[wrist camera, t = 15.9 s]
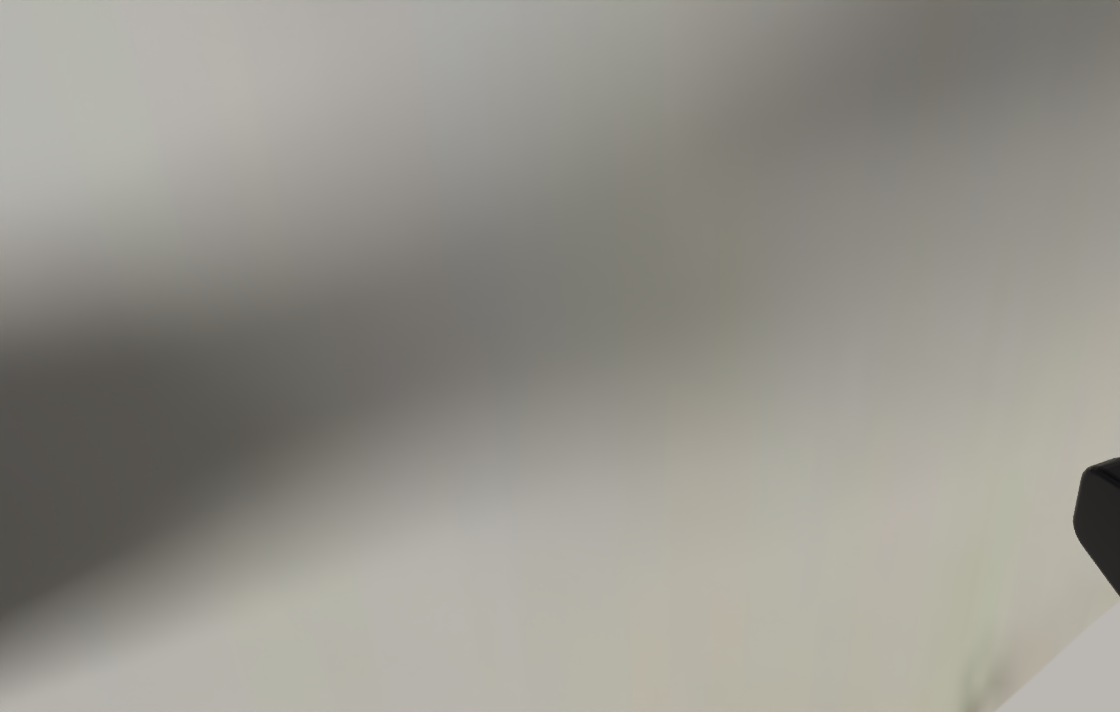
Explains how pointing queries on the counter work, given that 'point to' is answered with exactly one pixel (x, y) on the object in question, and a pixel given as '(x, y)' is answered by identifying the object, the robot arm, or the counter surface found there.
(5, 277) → the counter surface
